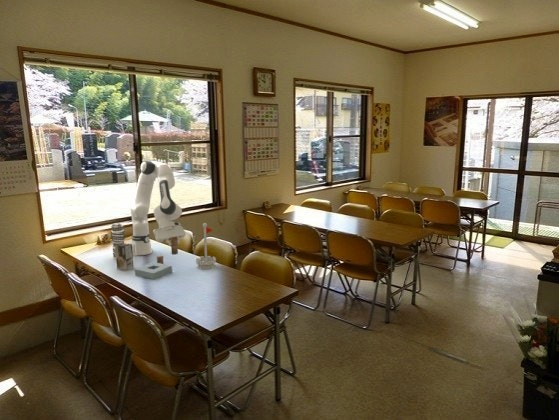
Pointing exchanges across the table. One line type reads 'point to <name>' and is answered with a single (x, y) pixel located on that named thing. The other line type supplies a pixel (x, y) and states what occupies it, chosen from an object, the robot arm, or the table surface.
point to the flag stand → (207, 261)
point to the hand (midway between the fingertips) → (174, 244)
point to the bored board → (153, 270)
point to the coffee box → (124, 256)
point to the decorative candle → (117, 236)
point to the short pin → (160, 259)
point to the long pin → (174, 245)
